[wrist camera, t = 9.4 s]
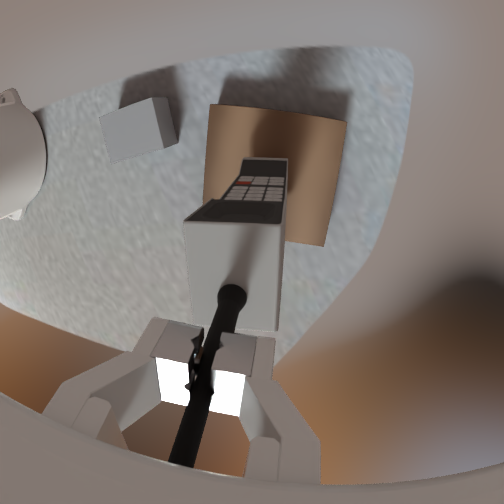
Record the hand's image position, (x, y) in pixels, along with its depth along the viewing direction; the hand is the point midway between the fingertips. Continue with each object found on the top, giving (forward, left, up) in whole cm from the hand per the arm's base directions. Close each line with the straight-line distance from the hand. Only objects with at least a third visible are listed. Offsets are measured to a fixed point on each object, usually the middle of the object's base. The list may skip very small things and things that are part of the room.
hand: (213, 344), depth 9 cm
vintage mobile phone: (0, 0, -21) cm, 21 cm away
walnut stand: (0, 0, -25) cm, 25 cm away
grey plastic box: (-13, +3, -25) cm, 28 cm away
